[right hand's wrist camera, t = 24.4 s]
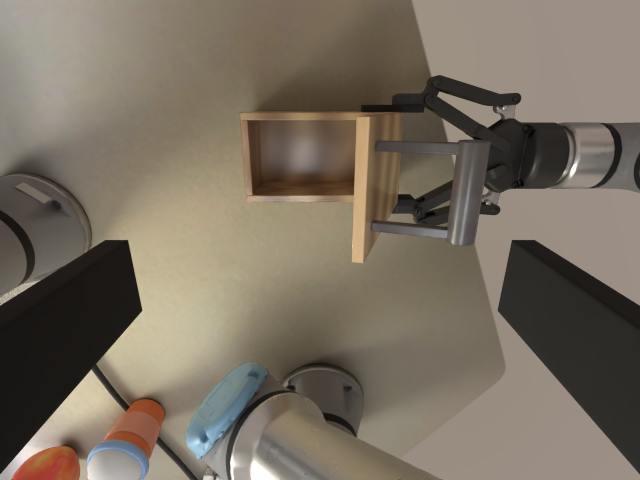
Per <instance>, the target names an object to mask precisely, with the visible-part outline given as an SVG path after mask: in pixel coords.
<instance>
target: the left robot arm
mask: <svg viewBox="0 0 640 480" xmlns="http://www.w3.org/2000/svg"><path fill="white" fill-rule="evenodd" d="M439 91H440V92H443V93H446V94H450V95H453V96H456V97H459V98H462V99H466V100H469V101H472V102H475V103H478V104H482V105H486V106H493V111H494V112H495V113H498V114H500V115H501V120H499V121H497V122H496V123H495V124H493V125H492V126H490V127H489V128H487V127H485V126H483V125H481V124H479V123H477V122H476V121H474V120H473V119H471V118H470V117H468V116H467V115H465V114H463V113H462V112H460V111H459V110H457V109H456V108H454V107H453V106H451V105H450V104H448V103H446V102H445V101H443V100H442V99H440V98H439V97H437V95H438V93H439ZM520 101H521V95H520V94H519V93H508V94H498V93H495V92H492V91H488V90H485V89H482V88H479V87H476V86H473V85H469V84H466V83H463V82H460V81H457V80H454V79H450V78H447V77H444V76H441V75H438V76H434V77H431V78H429V79H428V81H427V85H426V88H425V90H424V91H423V92H422V93H420V94H396V95H394V96H392V105H361V112H424V107H426V108H427V109H429V110H430V111H432V112H433V113H435V114H437V115H438V116H440V117H441V118H443V119H445V120H446V121H448V122H449V123H451V124H452V125H454V126H456V127H457V128H459V129H460V130H462V131H463V132H465V133H466V134H467V135H469V136H470V137H472V138H473V139H474V140H485V141H490V142H491V145H490V151H489V157H488V163H487V170H486V176H485V182H484V186H485V187H486V188H487V189H489V192H488V193H487V194H486V195H482V200H481V206H480V213H479V214H486V215H497V214H498V213H499V212H500V207H499V206H497V203H498V200H499V196H500V193H501V192H504V191H505V190H508V189H545V188H552V189H563V188H564V189H567V188H613V189H626V190H631V191H634V192H638V193H640V123H559V124H557V123H521V122H519V121H517V120H516V119H514V114H515V105H516V104H518V103H519V102H520ZM452 185H453V180H451V181H449V182H447V183H446V184H444V185H442V186H440V187H438V188H436V189H434V190H432V191H430V192H428V193H426V194H424V195H422V196H421V197H419V198H417V199H414V198H413V197H412V196H411V195H410V194H398V200H397V204H396V206H395V208H394V209H393V211H392V213H391V214H395V213H396V214H397V213H410V214H413V217H414V221H415V222H416V224H420V225H430V226H436V225H440V224H444V223H448V216H449V208H450V206H446V207H442V208H438V209H434V210H430V209H432V208H434V207H436V206H438V205H440V204H442V203H444V202H446V201H448V200H450V199H451V193H452ZM428 210H430V211H428ZM363 405H364V401H363V394H362V390H361V387H360V385H359V383H358V382H357V380H356V379H355V378H354V377H353V376H352V375H351V374H350V373H348V372H347V371H345V370H343V369H341V368H339V367H336V366H332V365H327V364H313V365H307V366H304V367H301V368H298V369H296V370H294V371H293V372H291V373H290V374H288V375H287V376H286V377H285V378H284V379H283V381H282V382H281V384H279V383H278V382H277V381H276V380H275V379H274V378H273V377H272V376H271V375H270V374H269V370H268V369H265V368H263V367H262V366H261V365H260V364H259V363H257V362H247V363H244V364H242V365H240V366H239V367H237V368H236V369H234V370H233V371H232V372H230V373H229V374H228V375H227V376H226V377H224V378H223V379H222V380H221V381H220V382H219V383H218V384H217V385H216V386H215V388H214V389H213V390H212V391H211V392H210V393H209V394H208V396H207V397H206V398H205V399H204V401H203V402H202V403H201V405H200V406H199V408H198V409H197V411H196V412H195V414H194V416H193V418H192V419H191V421H190V424H189V426H188V429H187V432H186V444H187V446H188V448H189V449H190V450H191V451H192V452H193V453H194V454H195V455H196V459H201V460H202V461H204V462H205V463H206V464H207V465H208V466H209V467H211V468H212V469H213V470H214V471H215V472H216V473H217V474H218V475H219V476H220V477H221V478H222V479H223V480H442V479H440V478H438V477H436V476H434V475H432V474H430V473H428V472H425V471H423V470H421V469H419V468H417V467H415V466H413V465H411V464H409V463H407V462H405V461H403V460H401V459H399V458H397V457H395V456H393V455H391V454H389V453H387V452H385V451H383V450H381V449H379V448H377V447H375V446H372V445H370V444H368V443H366V442H364V441H362V440H360V439H358V438H357V433H358V429H359V425H360V421H361V418H362V414H363Z"/></svg>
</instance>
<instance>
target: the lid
mask: <svg viewBox="0 0 640 480" xmlns="http://www.w3.org/2000/svg"><path fill="white" fill-rule="evenodd" d="M403 123H404V112H395V113H385V114H376V115H366V116H357V123H356V153H355V183H354V213H353V243H352V262H357V263H364V261H365V259H366V257H367V256H368V254H369V252H370V250H371V248H372V247H373V245H374V243H375V241H376V240H377V238H378V236H379V234H380V232H386V233H395V234H405V235H414V236H423V237H433V238H442V239H446V241H447V242H449V243H451V244H454V245H459V246H469V245H473V244H474V243H475V237H476V231H477V225H478V219H479V213H480V206H481V200H482V194H483V188H484V182H485V176H486V170H487V163H488V157H489V151H490V145H491V142H490V141H485V140H459V141H458V143H454V142H419V141H402V135H403ZM401 152H402V153H428V154H455V155H456V163H455V170H454V178H453V185H452V193H451V201H450V208H449V216H448V223H447V227H441V226H430V225H420V224H410V223H400V222H389V221H387V220H388V218H389V216H390V215H391V213H392V211H393V209H394V208H395V206H396V204H397V200H398V187H399V174H400V161H401Z"/></svg>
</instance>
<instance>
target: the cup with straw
mask: <svg viewBox="0 0 640 480" xmlns="http://www.w3.org/2000/svg"><path fill="white" fill-rule="evenodd" d="M164 415H165V414H164V410H163V408H162V407H161V406H160V405H159V404H158V403H157V402H155V401H152V400H149V399H141V400H137V401H135V402H134V403H133V404H132V405H131V406H130V407H129V409H128V410H127V411H126V413H125V414H124V415H122V416H121V417H120V418H119V420H118V421H117V422H116V424H115V425H114V426H113V427H112V429H111V430H110V431H109V433H108V434H107V435H106V436H105V438H104V439H103V441H102V442H101V443H99V444H97V445H96V446H95V447H94V448H93V449H92V450H91V451H90V453H89V455H88V458H87V468H88V479H89V480H143V479H144V477H145V476H146V474H147V472H148V469H149V459H150V457H151V454H152V452H153V449H154V446H155V444H156V441H157V438H158V436H159V433H160V427H161V425H162V422H163V419H164Z"/></svg>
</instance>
